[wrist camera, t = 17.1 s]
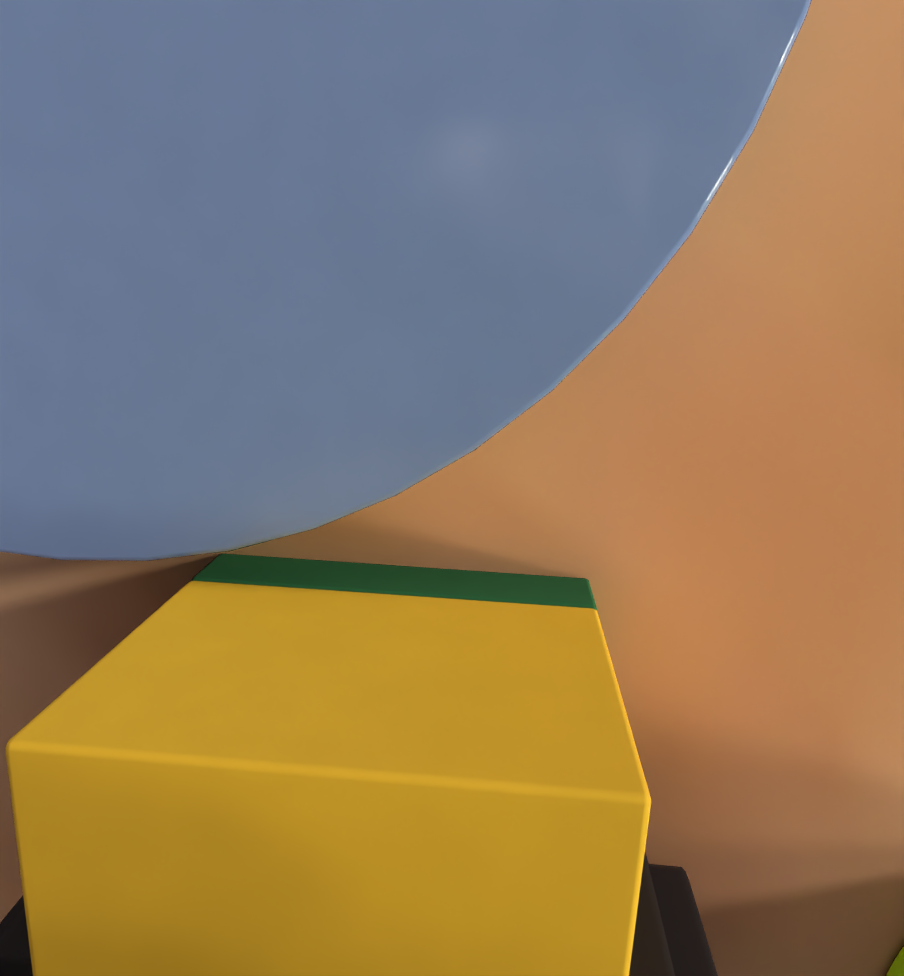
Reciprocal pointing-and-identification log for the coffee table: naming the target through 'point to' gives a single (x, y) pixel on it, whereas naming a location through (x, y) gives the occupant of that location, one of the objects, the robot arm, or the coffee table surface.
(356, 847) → the sponge
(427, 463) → the plate
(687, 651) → the coffee table surface
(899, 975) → the soap dispenser
